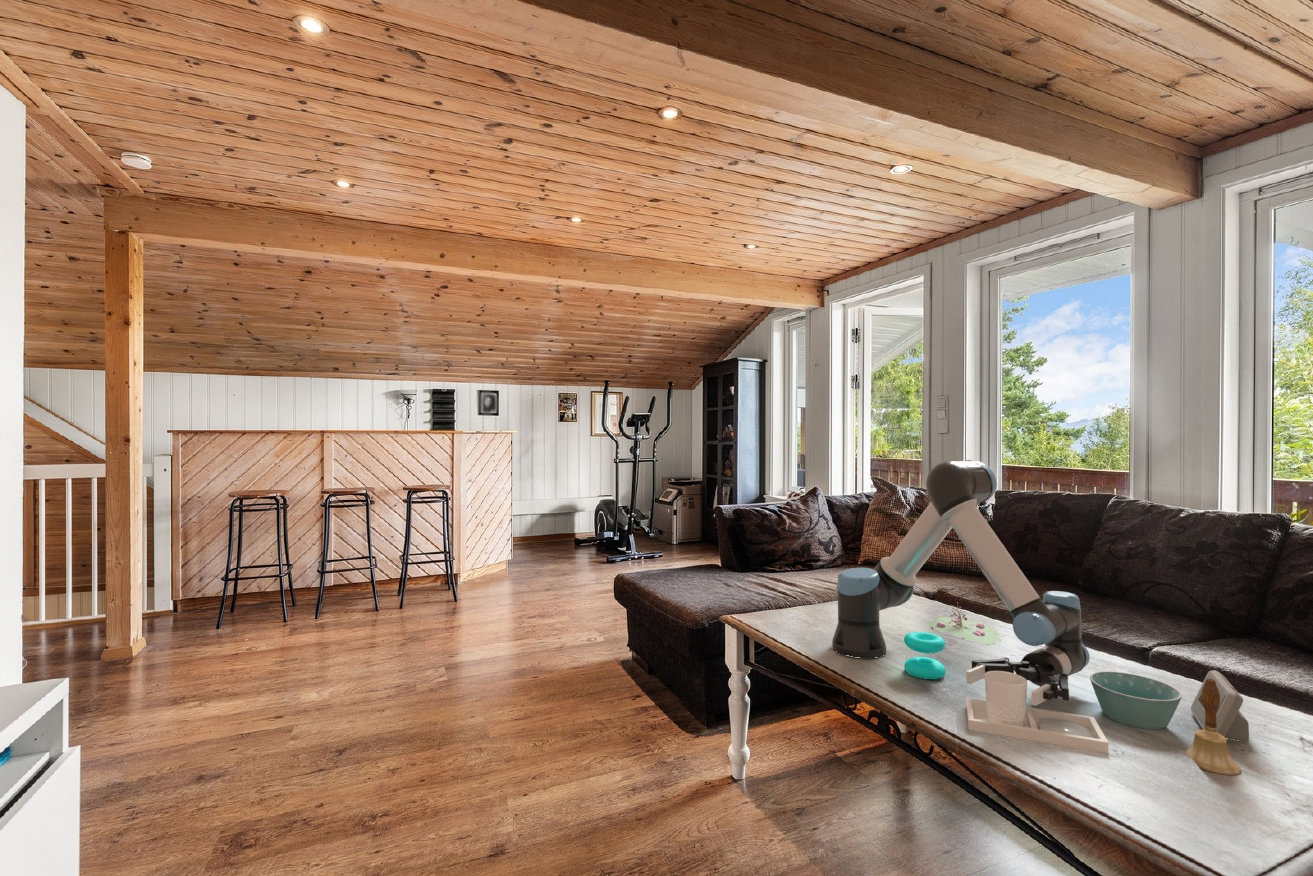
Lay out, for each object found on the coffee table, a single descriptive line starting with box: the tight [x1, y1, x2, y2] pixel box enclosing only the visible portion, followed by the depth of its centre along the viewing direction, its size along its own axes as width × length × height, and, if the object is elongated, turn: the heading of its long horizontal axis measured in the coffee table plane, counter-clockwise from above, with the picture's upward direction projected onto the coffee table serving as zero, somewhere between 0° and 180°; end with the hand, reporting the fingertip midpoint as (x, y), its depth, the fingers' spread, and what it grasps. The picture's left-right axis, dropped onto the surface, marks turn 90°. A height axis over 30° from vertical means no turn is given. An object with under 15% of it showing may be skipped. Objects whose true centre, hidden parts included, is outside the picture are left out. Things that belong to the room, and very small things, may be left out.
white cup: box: [984, 671, 1028, 727], centre depth 129 cm, size 8×8×10 cm
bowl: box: [1089, 671, 1183, 730], centre depth 131 cm, size 16×16×8 cm
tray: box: [965, 697, 1110, 754], centre depth 127 cm, size 24×12×3 cm, turn 65°
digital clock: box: [1190, 669, 1250, 743], centre depth 127 cm, size 16×9×11 cm, turn 137°
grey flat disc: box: [1038, 718, 1091, 738], centre depth 125 cm, size 9×9×1 cm
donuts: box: [903, 631, 947, 680], centre depth 160 cm, size 10×10×10 cm
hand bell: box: [1185, 679, 1242, 776], centre depth 115 cm, size 8×8×16 cm
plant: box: [929, 602, 1001, 646], centre depth 195 cm, size 25×21×9 cm
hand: (999, 687), depth 130 cm, fingers open, 13 cm apart
